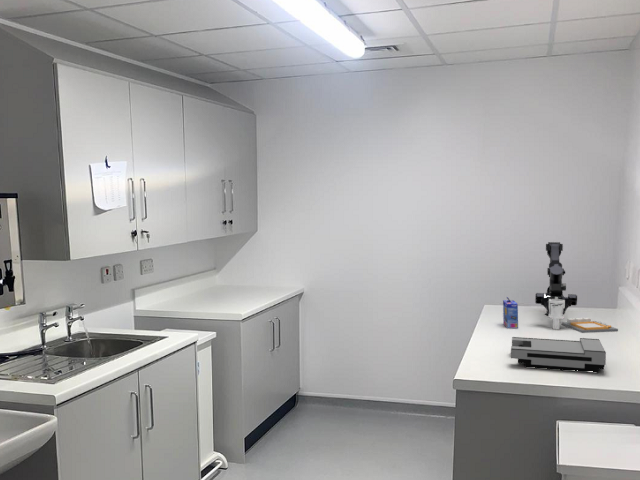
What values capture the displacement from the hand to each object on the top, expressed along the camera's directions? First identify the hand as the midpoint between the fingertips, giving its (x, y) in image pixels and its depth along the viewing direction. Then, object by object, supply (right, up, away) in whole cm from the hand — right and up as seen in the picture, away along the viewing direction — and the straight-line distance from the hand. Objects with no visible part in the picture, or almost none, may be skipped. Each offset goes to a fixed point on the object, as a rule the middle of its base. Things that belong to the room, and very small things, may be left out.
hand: (556, 313), depth 278 cm
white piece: (+1, -8, +2) cm, 8 cm away
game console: (-23, -12, -56) cm, 61 cm away
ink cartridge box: (-19, -8, +9) cm, 22 cm away
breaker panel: (+17, -7, +3) cm, 19 cm away
